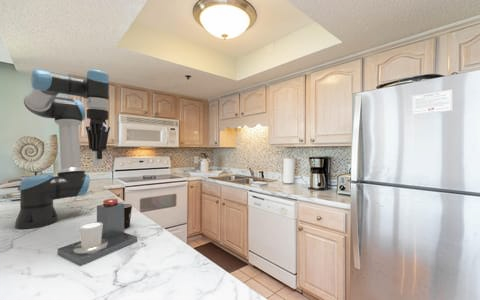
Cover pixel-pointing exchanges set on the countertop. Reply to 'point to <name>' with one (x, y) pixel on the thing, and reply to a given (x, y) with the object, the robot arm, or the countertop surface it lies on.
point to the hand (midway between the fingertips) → (97, 166)
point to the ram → (110, 202)
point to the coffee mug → (127, 215)
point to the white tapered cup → (91, 234)
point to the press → (110, 238)
